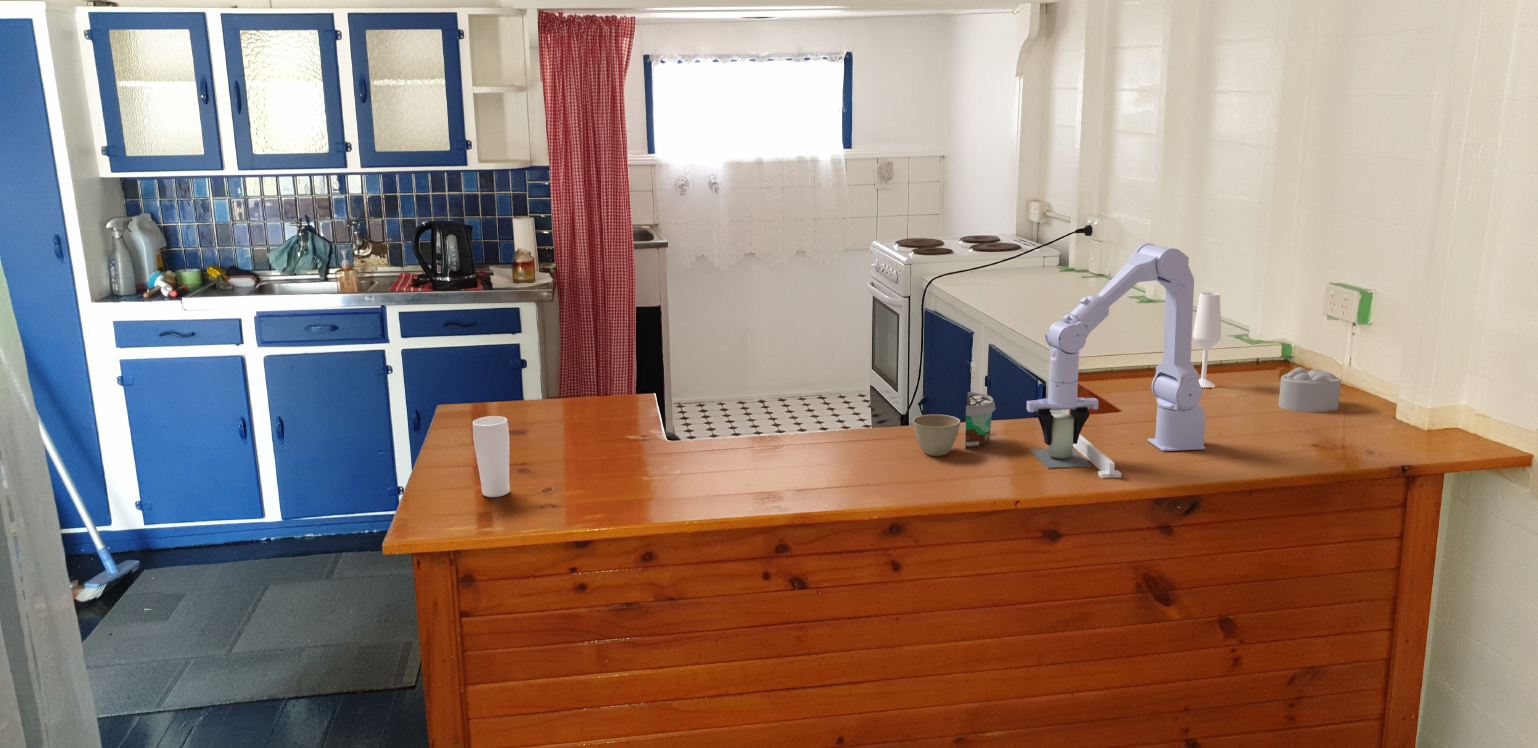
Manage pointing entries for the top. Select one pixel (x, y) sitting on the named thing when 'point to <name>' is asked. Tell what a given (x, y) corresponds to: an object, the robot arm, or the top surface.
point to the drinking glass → (492, 454)
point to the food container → (978, 420)
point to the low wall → (1097, 458)
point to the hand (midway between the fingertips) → (1060, 443)
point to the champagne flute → (1207, 328)
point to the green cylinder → (1061, 436)
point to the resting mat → (1060, 460)
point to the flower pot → (936, 433)
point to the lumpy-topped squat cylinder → (1309, 391)
